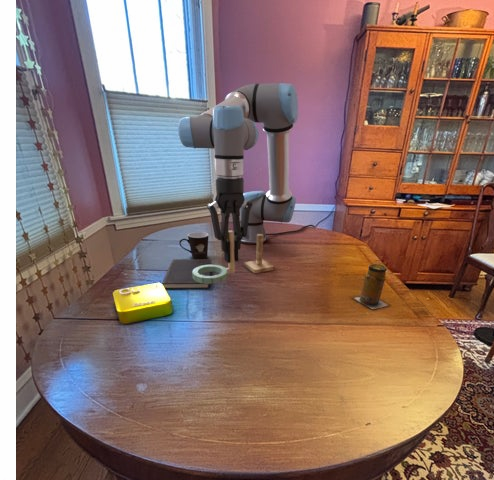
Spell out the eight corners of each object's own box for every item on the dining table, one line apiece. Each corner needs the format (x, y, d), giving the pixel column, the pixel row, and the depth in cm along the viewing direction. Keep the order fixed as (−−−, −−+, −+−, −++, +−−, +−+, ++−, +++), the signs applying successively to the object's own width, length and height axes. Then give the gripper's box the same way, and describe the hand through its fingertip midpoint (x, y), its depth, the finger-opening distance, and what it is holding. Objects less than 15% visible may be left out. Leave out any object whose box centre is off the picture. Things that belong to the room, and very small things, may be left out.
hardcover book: (211, 264, 123) (211, 259, 122) (208, 288, 103) (208, 282, 102) (172, 264, 122) (171, 259, 120) (162, 289, 102) (161, 283, 101)
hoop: (199, 286, 85) (196, 241, 78) (188, 273, 93) (184, 231, 86) (241, 277, 91) (241, 235, 84) (227, 266, 98) (226, 226, 91)
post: (263, 262, 126) (264, 230, 119) (274, 269, 120) (276, 236, 113) (244, 265, 123) (244, 233, 116) (254, 273, 116) (255, 239, 109)
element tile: (120, 325, 82) (116, 310, 80) (115, 302, 93) (111, 288, 91) (174, 314, 88) (172, 299, 86) (163, 293, 99) (161, 280, 97)
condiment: (369, 294, 103) (378, 261, 96) (388, 305, 96) (398, 271, 90) (353, 298, 100) (360, 264, 94) (371, 310, 93) (381, 274, 87)
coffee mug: (211, 254, 133) (210, 232, 128) (207, 261, 125) (205, 238, 120) (186, 253, 134) (184, 231, 128) (180, 260, 126) (177, 236, 121)
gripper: (208, 179, 73) (213, 268, 86) (260, 177, 80) (258, 260, 92) (198, 176, 79) (204, 260, 92) (248, 174, 85) (247, 253, 98)
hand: (231, 260), depth 92 cm, fingers closed on hoop, 2 cm apart
